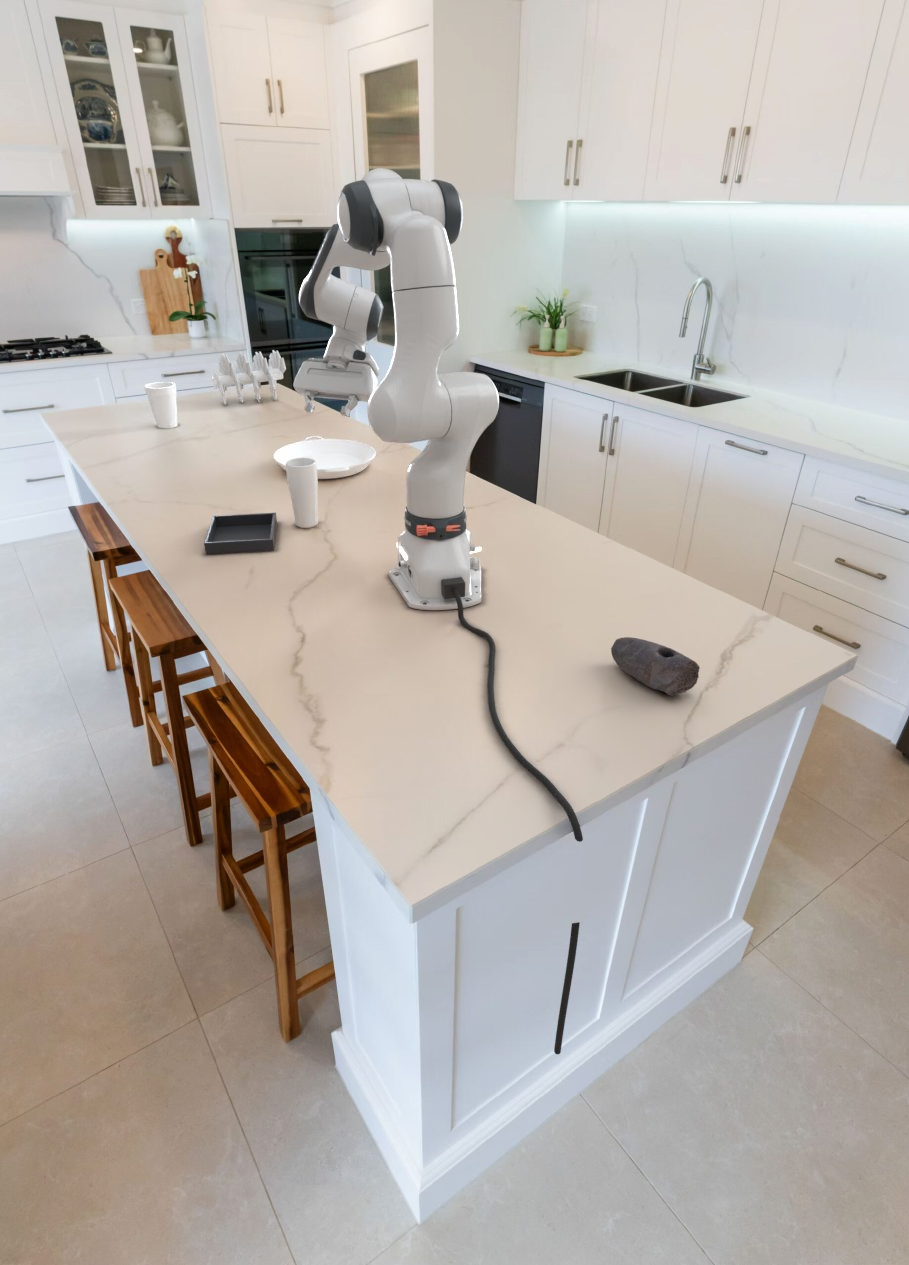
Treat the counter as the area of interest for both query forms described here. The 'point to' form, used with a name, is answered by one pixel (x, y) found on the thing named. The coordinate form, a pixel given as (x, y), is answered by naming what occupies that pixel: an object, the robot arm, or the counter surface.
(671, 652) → the perforated stone tool
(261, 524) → the baking tray
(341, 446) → the pan
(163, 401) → the foam cup
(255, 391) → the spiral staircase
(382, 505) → the counter surface
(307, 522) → the white tall cup
